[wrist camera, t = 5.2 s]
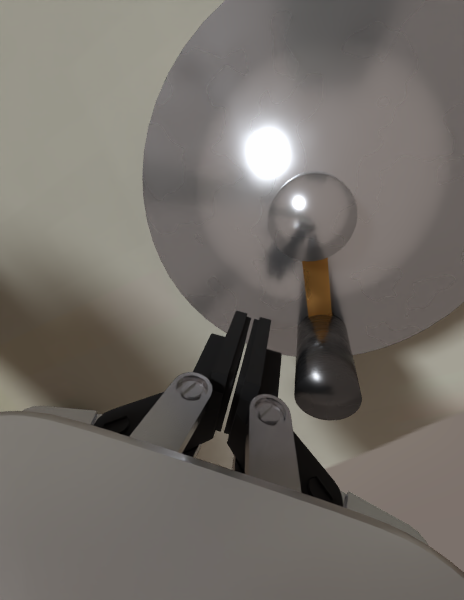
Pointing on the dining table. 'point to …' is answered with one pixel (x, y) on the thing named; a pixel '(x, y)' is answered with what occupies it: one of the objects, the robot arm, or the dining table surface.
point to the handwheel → (315, 178)
